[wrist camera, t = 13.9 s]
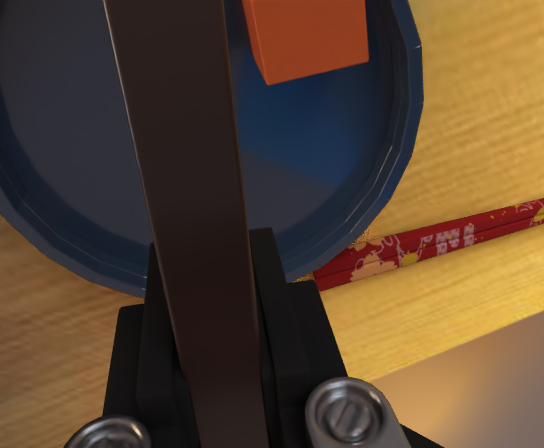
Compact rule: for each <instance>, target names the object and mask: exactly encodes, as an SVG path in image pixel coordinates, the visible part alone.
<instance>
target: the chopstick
mask: <svg viewBox="0 0 544 448" xmlns="http://www.w3.org/2000/svg"><path fill="white" fill-rule="evenodd" d="M543 223H544V198H542V199H538V200H534V201H530V202H526V203H521V204H517V205H513V206H509V207H505V208H501V209H497V210H493V211H489V212H485V213H480V214H476V215H472V216H468V217H464V218H460V219H456V220H452V221H448V222H444V223H440V224H435V225H431V226H427V227H423V228H419V229H415V230H411V231H407V232H403V233H399V234H395V235H390V236H386V237H382V238H378V239H374V240H370V241H366V242H362V243H358V244H354V245H350V246H348V247H347V248H345V249H344V250H343V251H342V252H340V253H339V254H338V255H337V256H335V257H334V258H333V259H331V260H330V261H329V262H328V263H326V264H325V265H324V266H321V268H319V269H317V270H315V271H313V274H314V278H315V282H316V285H317V288H318V290H319V291H324V290H327V289H330V288H333V287H337V286H340V285H343V284H347V283H350V282H353V281H356V280H360V279H363V278H366V277H370V276H373V275H376V274H379V273H383V272H386V271H389V270H392V269H396V268H399V267H402V266H406V265H409V264H412V263H415V262H419V261H422V260H425V259H428V258H432V257H435V256H438V255H442V254H445V253H448V252H451V251H455V250H458V249H461V248H465V247H468V246H471V245H474V244H478V243H481V242H484V241H487V240H491V239H494V238H497V237H501V236H504V235H507V234H510V233H514V232H517V231H520V230H524V229H527V228H530V227H533V226H537V225H540V224H543Z"/></svg>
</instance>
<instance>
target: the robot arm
mask: <svg viewBox="0 0 544 448" xmlns="http://www.w3.org/2000/svg"><path fill="white" fill-rule="evenodd" d="M249 240H250V249H251V258H252V267H253V276H254V285H255V294H256V303H257V312H258V321H259V330H260V340H261V349H262V358H263V369H262V370H261V376H262V385H263V395H264V404H265V413H266V422H267V427H268V429H269V432H270V437H271V442H272V448H444V447H442V446H440V445H439V444H437V443H435V442H433V441H431V440H429V439H428V438H426V437H424V436H422V435H420V434H418V433H417V432H415V431H413V430H411V429H409V428H407V427H406V426H404V425H402V424H400V423H399V422H398V419H397V417H396V415H395V413H394V411H393V409H392V407H391V405H390V403H389V402H388V400H387V399H386V398H385V396H384V395H383V393H382V392H381V391H379V390H378V389H377V388H376V387H374V386H373V385H372V384H370V383H368V382H366V381H364V380H361V379H358V378H352V377H348V374H347V372H346V369H345V366H344V363H343V360H342V357H341V354H340V351H339V349H338V346H337V343H336V340H335V337H334V334H333V331H332V328H331V326H330V323H329V320H328V317H327V314H326V311H325V308H324V305H323V303H322V300H321V297H320V294H319V291H318V288H317V285H316V283H315V281H314V280H306V281H299V282H292V283H287V281H286V278H285V274H284V270H283V267H282V263H281V259H280V256H279V252H278V248H277V245H276V241H275V237H274V233H273V230H272V227H266V228H258V229H251V230H249ZM198 442H199V436H198V431H197V426H196V421H195V417H194V412H193V407H192V402H191V397H190V392H189V387H188V383H187V382H185V381H184V378H183V375H182V370H181V366H180V361H179V356H178V352H177V347H176V343H175V338H174V333H173V329H172V324H171V319H170V315H169V310H168V305H167V301H166V296H165V292H164V287H163V282H162V278H161V273H160V268H159V264H158V259H157V254H156V250H155V245H154V242H152V243H150V250H149V260H148V271H147V281H146V292H145V302H144V304H138V305H131V306H124V307H121V308H120V310H119V314H118V319H117V325H116V332H115V338H114V345H113V351H112V357H111V364H110V370H109V376H108V383H107V389H106V395H105V402H104V408H103V414H102V417H99V418H97V419H95V420H93V421H91V422H89V423H87V424H85V425H84V426H83V427H82V428H80V429H79V430H78V431H77V432H76V433H74V434H73V436H72V437H71V438H70V439H69V441H68V442H67V443H66V444H65V446H64V447H63V448H199V446H198Z"/></svg>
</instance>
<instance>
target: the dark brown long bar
mask: <svg viewBox="0 0 544 448" xmlns="http://www.w3.org/2000/svg"><path fill="white" fill-rule="evenodd" d="M102 4H103V9H104V14H105V18H106V23H107V27H108V32H109V37H110V41H111V46H112V51H113V55H114V60H115V65H116V69H117V74H118V78H119V83H120V88H121V92H122V97H123V102H124V106H125V111H126V115H127V120H128V125H129V129H130V134H131V139H132V143H133V148H134V153H135V157H136V162H137V166H138V171H139V176H140V180H141V185H142V190H143V194H144V199H145V204H146V208H147V213H148V217H149V222H150V227H151V231H152V236H153V241H154V245H155V250H156V254H157V259H158V264H159V268H160V273H161V278H162V282H163V287H164V292H165V296H166V301H167V305H168V310H169V315H170V319H171V324H172V329H173V333H174V338H175V343H176V347H177V352H178V356H179V361H180V366H181V370H182V375H183V378H184V381H185V382H187V383H188V387H189V392H190V397H191V402H192V407H193V412H194V417H195V421H196V426H197V431H198V436H199V442H198V446H199V448H272V442H271V437H270V432H269V429H268V427H267V422H266V413H265V404H264V395H263V385H262V376H261V370H262V369H263V358H262V349H261V340H260V330H259V321H258V312H257V303H256V294H255V285H254V276H253V267H252V258H251V249H250V240H249V230H248V221H247V212H246V203H245V194H244V185H243V176H242V167H241V158H240V149H239V139H238V130H237V121H236V112H235V103H234V94H233V85H232V76H231V67H230V58H229V49H228V39H227V30H226V21H225V12H224V3H223V0H102Z"/></svg>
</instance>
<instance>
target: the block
mask: <svg viewBox="0 0 544 448" xmlns="http://www.w3.org/2000/svg"><path fill="white" fill-rule="evenodd" d="M242 3H243V8H244V13H245V17H246V22H247V27H248V32H249V37H250V42H251V47H252V51H253V56H254V59H255V61H256V63H257V65H258V68H259V70H260V72H261V74H262V76H263V78H264V81H265V83H266V84H267V85H274V84H278V83H282V82H286V81H290V80H295V79H299V78H303V77H307V76H311V75H316V74H320V73H324V72H328V71H332V70H337V69H341V68H345V67H349V66H353V65H357V64H362V63H366V62H368V60H369V54H368V39H367V25H366V10H365V0H242Z"/></svg>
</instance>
